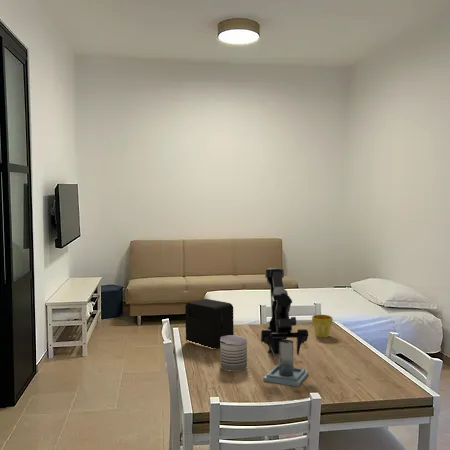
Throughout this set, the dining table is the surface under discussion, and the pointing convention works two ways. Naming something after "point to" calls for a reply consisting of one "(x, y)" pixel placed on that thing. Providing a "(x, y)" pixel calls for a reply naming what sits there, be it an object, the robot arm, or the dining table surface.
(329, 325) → the plant pot
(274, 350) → the robot arm
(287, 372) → the grey shiny round cylinder
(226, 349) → the can
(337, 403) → the dining table surface
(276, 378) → the plate
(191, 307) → the air purifier
